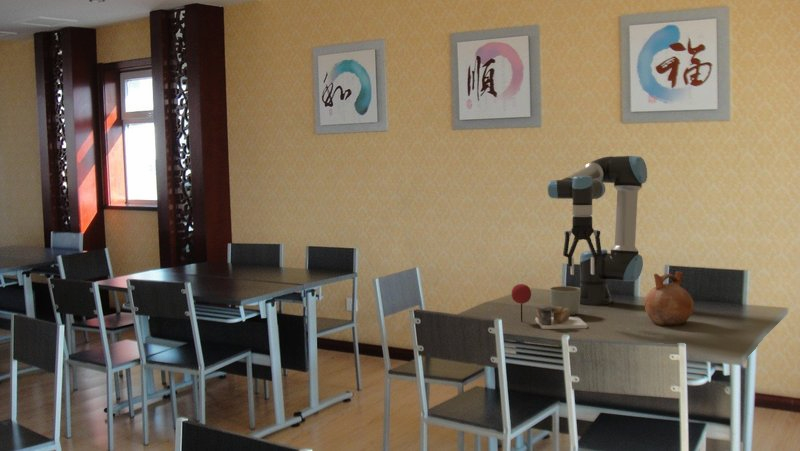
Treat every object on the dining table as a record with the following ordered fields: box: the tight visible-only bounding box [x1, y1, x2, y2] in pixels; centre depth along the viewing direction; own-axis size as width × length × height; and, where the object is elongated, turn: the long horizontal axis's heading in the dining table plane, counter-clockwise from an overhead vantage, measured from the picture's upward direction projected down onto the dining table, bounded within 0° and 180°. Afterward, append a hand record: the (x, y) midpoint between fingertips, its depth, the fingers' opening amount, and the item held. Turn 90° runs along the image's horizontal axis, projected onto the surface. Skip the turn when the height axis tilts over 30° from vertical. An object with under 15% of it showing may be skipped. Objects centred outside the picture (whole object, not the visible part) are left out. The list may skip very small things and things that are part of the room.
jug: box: [644, 271, 695, 327], centre depth 316 cm, size 18×18×20 cm
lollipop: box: [511, 283, 532, 322], centre depth 324 cm, size 8×8×15 cm
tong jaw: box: [539, 305, 570, 323], centre depth 316 cm, size 8×16×6 cm, turn 152°
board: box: [534, 316, 588, 330], centre depth 318 cm, size 17×16×1 cm
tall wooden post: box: [536, 306, 552, 325], centre depth 318 cm, size 4×15×6 cm, turn 0°
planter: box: [549, 285, 581, 317], centre depth 336 cm, size 12×12×11 cm
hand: (582, 274), depth 319 cm, fingers open, 7 cm apart
